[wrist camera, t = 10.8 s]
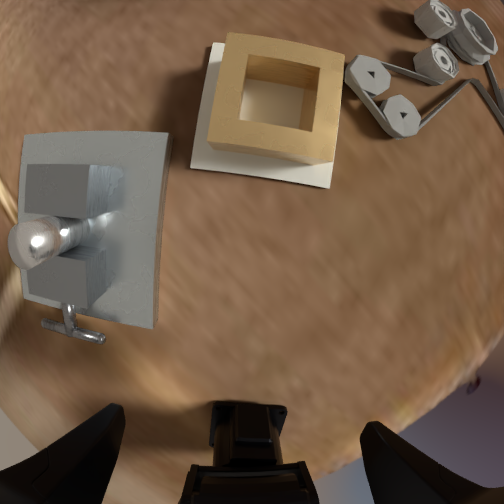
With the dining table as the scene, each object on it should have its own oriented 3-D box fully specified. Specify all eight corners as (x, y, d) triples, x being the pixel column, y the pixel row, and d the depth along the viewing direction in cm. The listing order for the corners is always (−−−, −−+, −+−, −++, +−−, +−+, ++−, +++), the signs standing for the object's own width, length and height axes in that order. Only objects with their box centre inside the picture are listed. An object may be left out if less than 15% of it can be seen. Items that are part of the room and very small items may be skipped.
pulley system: (322, -19, 15) (342, 135, 18) (339, -51, 11) (374, 120, 13) (515, 65, 17) (534, 178, 20) (539, 58, 13) (562, 180, 16)
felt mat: (327, 188, 19) (329, 188, 18) (191, 168, 18) (190, 167, 17) (341, 68, 17) (344, 65, 16) (213, 45, 16) (213, 42, 15)
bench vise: (157, 332, 21) (127, 396, 13) (34, 303, 20) (-17, 342, 12) (173, 136, 17) (135, 111, 10) (35, 136, 16) (-30, 128, 9)
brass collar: (313, 165, 18) (332, 161, 14) (213, 149, 17) (206, 140, 13) (325, 76, 16) (344, 54, 12) (229, 59, 16) (227, 32, 12)
